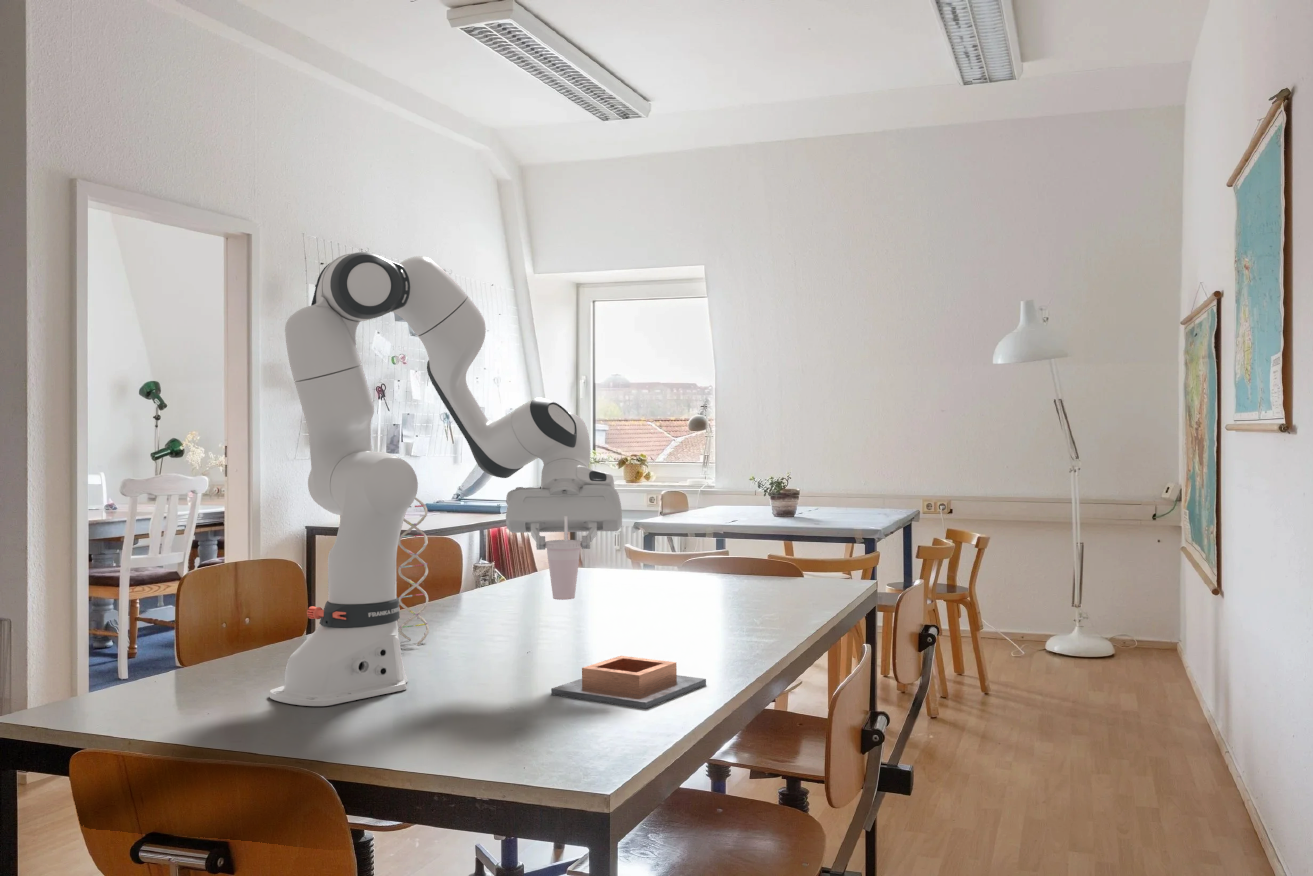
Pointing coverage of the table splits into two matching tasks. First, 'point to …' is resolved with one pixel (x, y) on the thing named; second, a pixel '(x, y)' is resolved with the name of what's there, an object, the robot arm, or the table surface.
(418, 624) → the dna model
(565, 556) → the smoothie
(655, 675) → the mount
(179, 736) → the table surface
